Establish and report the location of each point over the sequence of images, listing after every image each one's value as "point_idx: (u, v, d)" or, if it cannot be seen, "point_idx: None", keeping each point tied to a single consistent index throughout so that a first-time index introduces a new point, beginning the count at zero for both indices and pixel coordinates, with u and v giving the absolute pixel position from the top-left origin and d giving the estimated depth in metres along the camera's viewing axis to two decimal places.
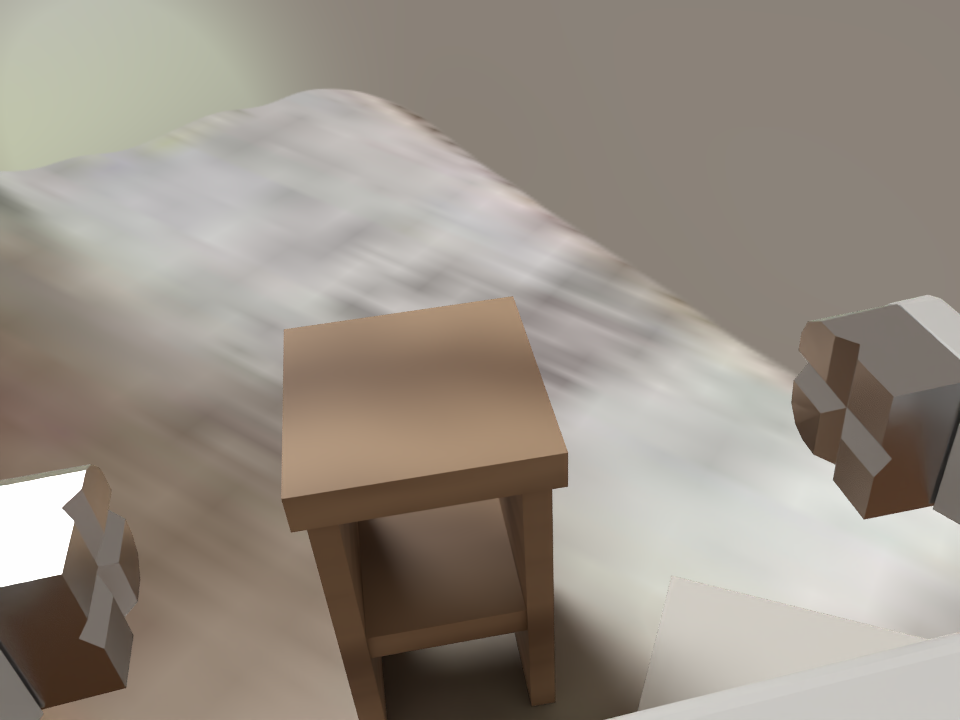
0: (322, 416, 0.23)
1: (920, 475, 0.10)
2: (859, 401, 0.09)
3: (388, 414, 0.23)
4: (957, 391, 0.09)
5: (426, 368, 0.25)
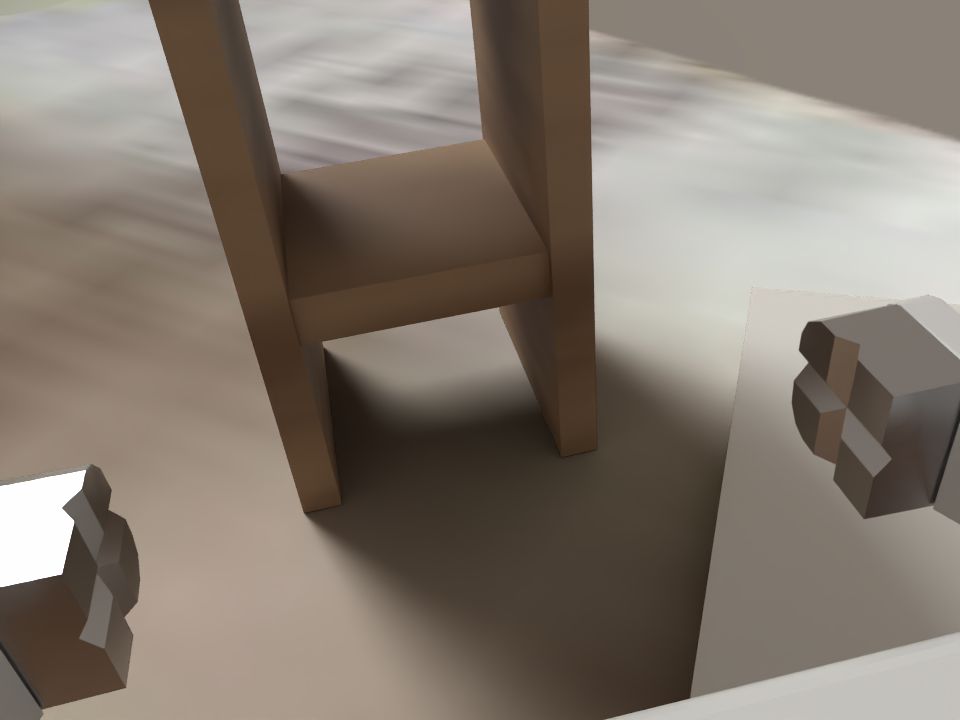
0: None
1: (920, 475, 0.10)
2: (859, 401, 0.09)
3: None
4: (957, 391, 0.09)
5: None
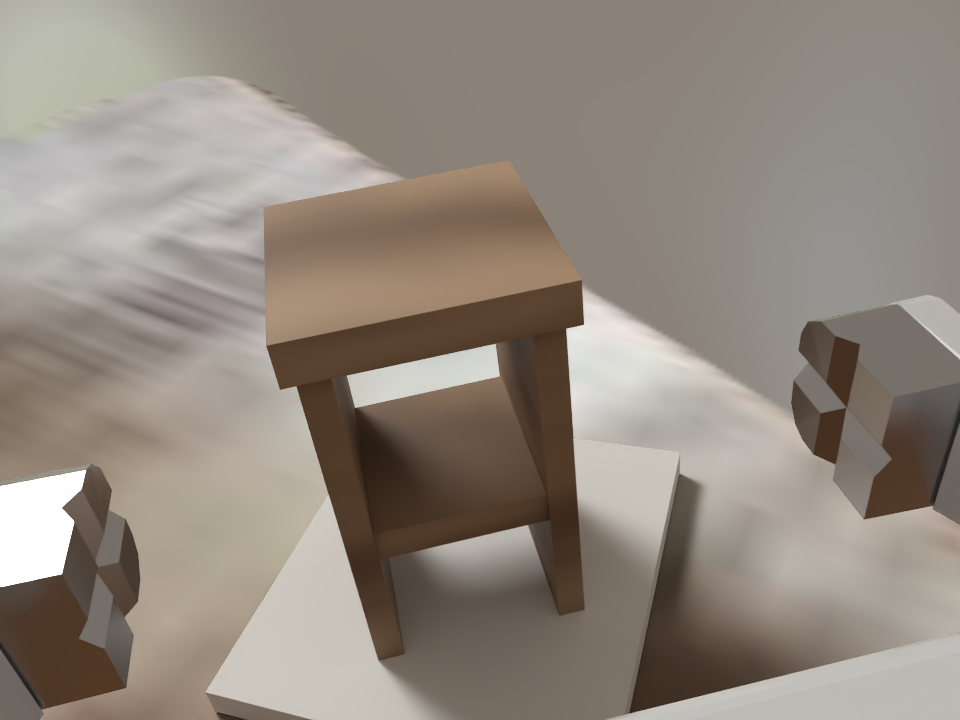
0: (308, 273, 0.21)
1: (920, 475, 0.10)
2: (859, 401, 0.09)
3: (381, 265, 0.21)
4: (957, 391, 0.09)
5: (420, 225, 0.23)
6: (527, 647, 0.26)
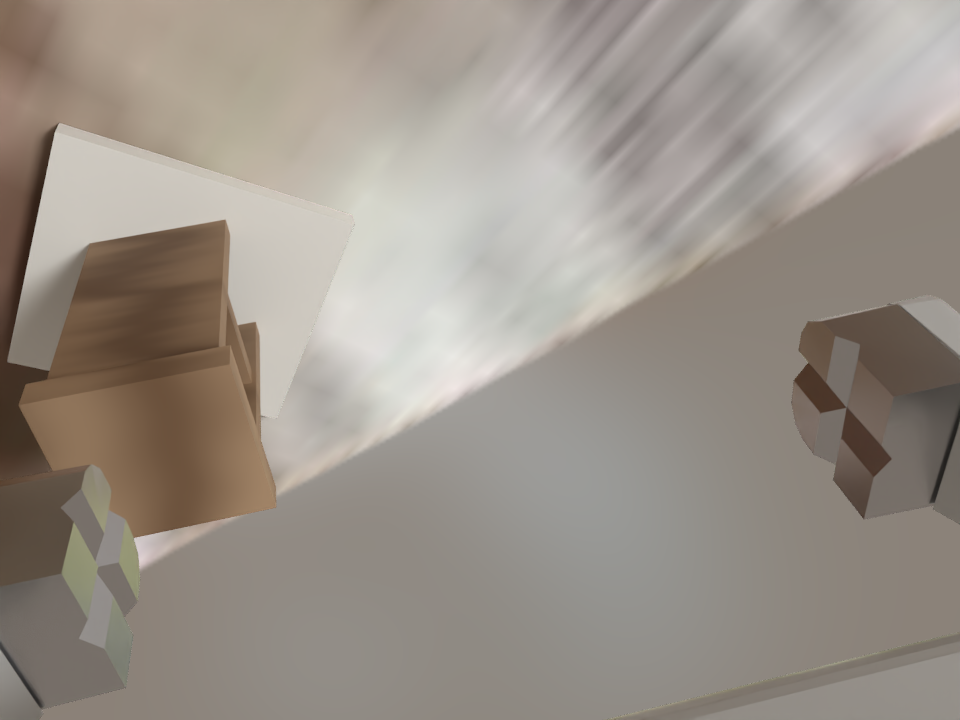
0: (113, 412, 0.30)
1: (920, 475, 0.10)
2: (859, 401, 0.09)
3: (120, 451, 0.31)
4: (957, 391, 0.09)
5: (177, 466, 0.32)
6: None
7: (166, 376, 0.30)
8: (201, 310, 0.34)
